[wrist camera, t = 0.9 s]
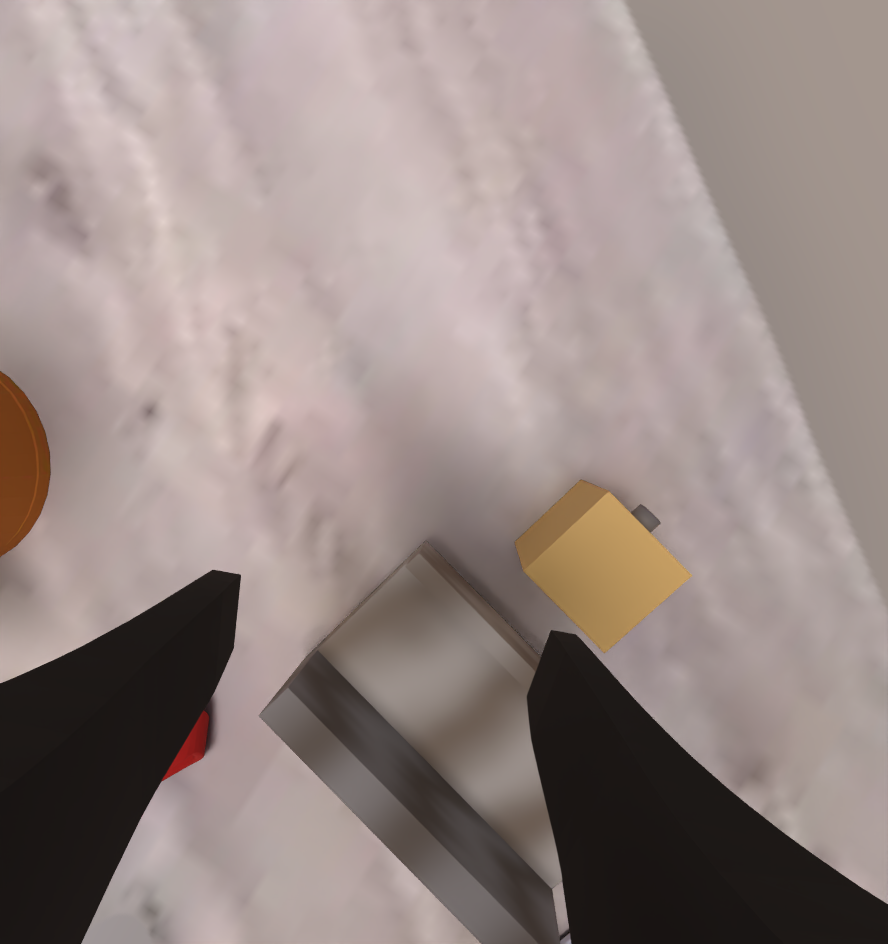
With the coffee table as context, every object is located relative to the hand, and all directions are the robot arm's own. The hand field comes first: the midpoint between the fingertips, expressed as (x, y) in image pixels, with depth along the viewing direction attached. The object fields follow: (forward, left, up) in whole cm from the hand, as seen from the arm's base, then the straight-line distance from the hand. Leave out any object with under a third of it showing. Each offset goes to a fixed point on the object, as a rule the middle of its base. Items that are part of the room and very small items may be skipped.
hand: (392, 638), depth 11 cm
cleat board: (-9, +7, -16) cm, 20 cm away
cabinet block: (-6, -4, -16) cm, 18 cm away
